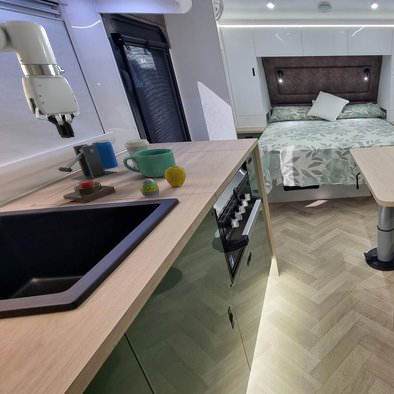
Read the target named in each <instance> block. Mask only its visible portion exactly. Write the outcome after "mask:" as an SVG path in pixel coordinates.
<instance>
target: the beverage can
mask: <svg viewBox="0 0 394 394" xmlns="http://www.w3.org/2000/svg"><path fill="white" fill-rule="evenodd" d="M91 145H96V148H97V151H98V154H99V157H100V160H101V163H102V166H103V169H104V170H108V169H113V168H118V167H119V163H118V159H117V156H116V153H115V150H114V146H113V144H112V142H111V141H110V140H109V139H101V140H93V141H92V142H91Z"/></svg>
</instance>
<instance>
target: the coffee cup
mask: <svg viewBox="0 0 394 394" xmlns="http://www.w3.org/2000/svg"><path fill="white" fill-rule="evenodd" d="M124 147H125V149H126V151H127V153H128V156H132V157H135V156H134V154H135V153H137V152H140V151H145V150H150V142H149V141H148V140H147V139H146V138H137V139H136V138H135V139H130V140H125V142H124ZM131 162H132V164H133V166H134V169H138V167H137V163H136V162H135V161H134V160H131Z"/></svg>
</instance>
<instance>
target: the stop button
mask: <svg viewBox="0 0 394 394" xmlns="http://www.w3.org/2000/svg"><path fill="white" fill-rule="evenodd" d="M94 182H95V181H94V179H93V180H79V182H78V185H79V186H80V188H86V187H91V186H94V185H95V184H94Z"/></svg>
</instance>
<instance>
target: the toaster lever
mask: <svg viewBox="0 0 394 394" xmlns="http://www.w3.org/2000/svg"><path fill="white" fill-rule="evenodd" d="M83 145H84V144H83ZM84 146H86V145H84ZM79 151H80V153H79V154H78V155H77V156H76V155H75V157H74V158H73V159H71V161H69V162H68V163H67V164H66V165H65V166H64V167H63V166H60V167H58V168H57V170H58V171H59V172H63V173H72V172H73V166H74V165H75V164H76V163H77V162H79V161H78V160H79V159H80V158H81V157H82V156H84V154H83V151H82V149H81V148H80V149H79Z"/></svg>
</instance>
